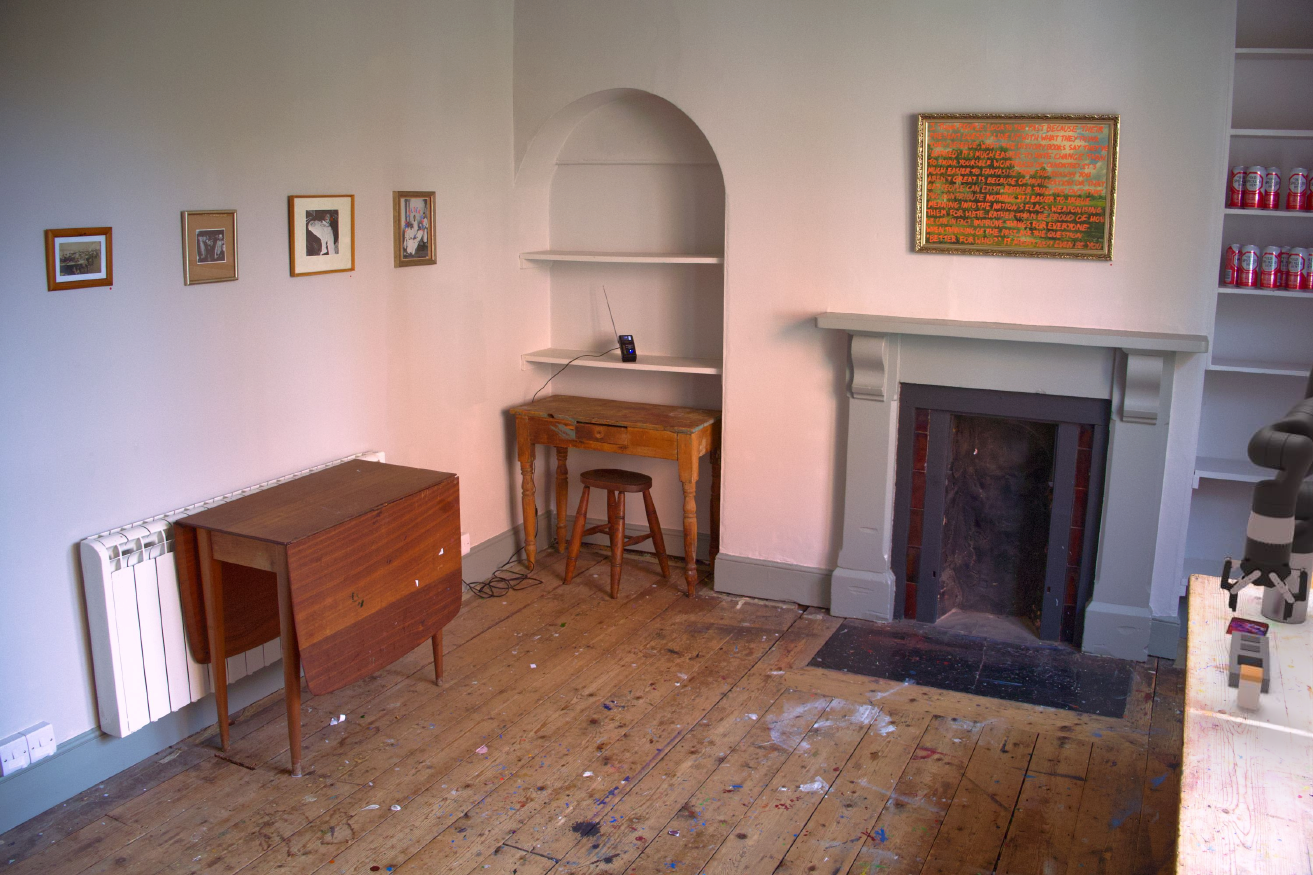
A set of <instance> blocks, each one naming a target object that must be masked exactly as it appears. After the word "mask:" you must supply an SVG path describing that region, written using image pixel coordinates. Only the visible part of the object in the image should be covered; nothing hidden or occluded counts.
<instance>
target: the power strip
mask: <svg viewBox="0 0 1313 875" xmlns="http://www.w3.org/2000/svg"><path fill="white" fill-rule="evenodd" d="M1229 651H1230V652H1229V667H1228V669H1229V670H1228V687H1233V688H1237V689H1238V688H1239V680H1240V672H1241V665H1247V666H1253V667H1258V668H1262V684H1261V691H1260V693H1265V694H1268V693H1269V690H1270V689H1269V688H1270V681H1271V675H1270V674H1271V673H1270V671H1271V670H1270V669H1271V668H1270V666H1271V665H1270V637H1269V636H1267V635H1266V636H1261V635H1255V634H1249V633H1243V632H1237V631H1232V635H1231V637H1230V650H1229Z"/></svg>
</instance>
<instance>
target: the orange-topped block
mask: <svg viewBox="0 0 1313 875" xmlns="http://www.w3.org/2000/svg"><path fill="white" fill-rule="evenodd" d="M1261 684H1262V668H1258V667H1253V666H1247V665H1241V672H1240V680H1239V688H1238V687H1237V689H1238V690H1237V696H1236V707H1238V708H1242V709H1243V708H1244V709H1248V710H1254V711H1258V710H1259V704H1260V699H1261V698H1260V697H1261V692H1260V691H1261Z"/></svg>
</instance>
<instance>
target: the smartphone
mask: <svg viewBox="0 0 1313 875" xmlns="http://www.w3.org/2000/svg"><path fill="white" fill-rule="evenodd" d="M1269 625H1270V624H1269V623H1267V622H1263V621H1258V620H1253V619H1248V618H1243V617H1238V616H1232V617H1231V619H1230V622H1229V623H1228V625H1227V628H1226V631H1225V635H1230V636H1232V631H1237V632H1243V633H1249V634H1255V635H1261V636H1267V633H1268V631H1269V628H1270V626H1269Z"/></svg>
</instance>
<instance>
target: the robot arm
mask: <svg viewBox="0 0 1313 875" xmlns="http://www.w3.org/2000/svg"><path fill="white" fill-rule="evenodd" d="M1310 369H1311V370H1310V372H1309V375H1308V379H1307V384H1306V387H1305V388H1306V389H1305V391H1304V393H1305V394H1304V395H1303V400H1301V401H1300V402H1297V403H1296V404H1295V405H1294V406H1293V407H1292V408H1291V409H1290V410H1289V411H1288V412H1287V413H1286V415H1285V416H1283V418H1280V419H1277V420H1275V421H1274V422H1271V423H1269V424H1267V425H1265V426H1263V427H1262V428H1260V429H1259V430H1258V431H1256V432H1255V433H1254V434H1253V436H1251V438H1250V440H1249V442H1248V445H1247V456H1248V458H1249V460H1250V462H1251V463H1253V465H1255V466H1258V467H1260V468H1266V469H1271V470H1275V471H1277V473H1276V475H1275V477H1274V479H1273V478H1272V479H1271V478H1270V479H1263V480H1259V481H1257V482H1256V484H1255V485H1254V490H1253V495H1252V503H1251V511H1250V515H1249V518H1248V522H1247V526H1246V538H1245V545H1244V553H1243V554H1244V556H1243V558H1242V559H1241V560H1236V559H1232V557H1230V556H1226V557H1225V559H1224V562H1223V568H1222V572H1221V577H1220V578H1221V579H1220V585H1219V587H1220V589H1222V590H1224V591H1227V592H1229V596H1228V597H1229V598H1228V609H1231V612H1232V613H1233V612H1234V613H1236V612H1237V607H1238V606H1237V605H1238V598H1239V597H1238V596H1239V592H1241V591H1242V590H1243V589H1244V588H1246V587H1247V586H1249V585H1250V584H1251V585H1253V586H1255V587H1263V594H1262V598H1261V599H1262V600H1261V606H1260V613H1261V614H1262V615H1263V616H1265V617H1266V618H1268V619H1270V620H1273V621H1276V622H1281V623H1286V624H1287V623H1289V624H1299V623H1304V622H1305V621H1306V620H1307V613H1308V606H1309V602H1310V601H1309V599H1310V592H1311V586H1312V579H1313V480H1306V478H1309V477H1311V476H1312V475H1313V365H1312V367H1311V368H1310ZM1295 521H1299V522H1298V523H1295ZM1237 568H1240V570H1241V572H1242V573H1243V574H1242V575H1241V576H1239V577H1238V579H1236V581H1234V582H1233V583H1231V582H1229V579H1230V575H1231V572H1234V571H1236V570H1237Z"/></svg>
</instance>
